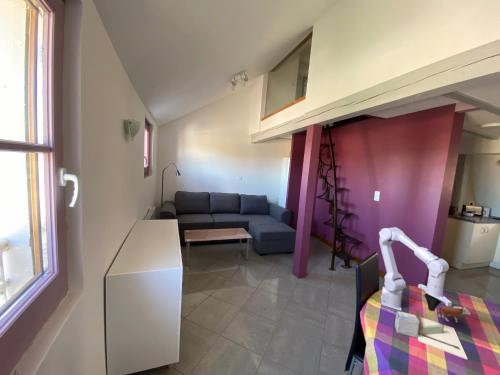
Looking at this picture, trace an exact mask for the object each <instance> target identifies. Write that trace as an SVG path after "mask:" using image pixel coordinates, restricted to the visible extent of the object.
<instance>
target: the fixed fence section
mask: <svg viewBox="0 0 500 375" xmlns="http://www.w3.org/2000/svg"><path fill="white" fill-rule="evenodd" d="M414 315H416V317H417V319H418V320H419V325H421V321H420V317H421V316H420V312H419V310H415V312H414Z"/></svg>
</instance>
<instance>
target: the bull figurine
mask: <svg viewBox="0 0 500 375" xmlns="http://www.w3.org/2000/svg"><path fill="white" fill-rule="evenodd" d="M437 314H438V315H437V317H439V318H440V319H441V318H442V319H445V321H446V322H450V320H449V319H448V317H453V319H454V321H455V322H456V323H457V324H458V323H459V322H458V320H459V318H460V317H461V316H463V315H468V316H471V312H470V311H469V309H467V307H465V306H462V307H461V306H446V305H440V306H438V312H437Z"/></svg>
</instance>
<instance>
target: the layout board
mask: <svg viewBox="0 0 500 375" xmlns="http://www.w3.org/2000/svg"><path fill="white" fill-rule="evenodd" d="M419 317H420V321H421V326H431V325H440V324H441V323H440V322H436V321H434V320H432V319H431V320H430V319H427V318H424V317H422V316H419ZM443 325H444V330H443V333H433V334H422V335H419V334H417V340H418V342H420V343H422V344H425V345H427V346H430V347H431V348H432V347H433V348H434V349H435V348H436V349H438V350H440V351H443V352H446V353H448V354H451V355H453V356H456V357H459V358H461V359H464V360H468V357H467V354H466V352H465V350H464V348H463V346H462V343H461V341H460V339H459V337H458V335H457V333H456V331H455V328H454V327H452V326H449V325H445V324H443Z"/></svg>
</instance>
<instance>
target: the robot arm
mask: <svg viewBox="0 0 500 375" xmlns="http://www.w3.org/2000/svg"><path fill="white" fill-rule="evenodd" d="M378 235H379V239H378V240H379V241H378V242H379V246H380V251H381V255H382V259H383V262H384V267H385V270H386V273H385V275H384V286H382V290H381V295H380V304H381V306H385V307H388V308H391V309H394V310H396V311H399V312H403V311H402V296H403V290H404V289H406V288H407V283H406V281H405V280H404V278H403V275H402V274H401V273H399V271H398V270H399V269H398V267H397V263H396V259H395V255H394V252H393V248H392V244H393V242H394V241H397V242H401V243H402V244H403V245H405V246H406V247H407V248H409V250H412V251H413V253H414V256H416V257H417V258H418V259H419V260H420V261H421V262H423V263H424V264H425V265H426V266H427V269H428V277H427V284H426V285H424V284H422V283H419V284H418V285H417V287H418V289H420V290H422V291H424V292H425V293H424V295H423V296H424V298H425V300H426V303H427V304H426V305H427V309H428V311H430V312H435V311H436V309H437V307H439V305H440V304H441V303H443V304H445V306H448V307H452V303H453V302H452V301H451V300H449V299H448V297H445V295H443V294H444V293H443V292H444V284H445V279H446V273H447V271H448V270H449V269H450V266H449V264H448V262H447V260H445V259H443V258H439V257H438V256H437V255H435V254H433V253H432V252H430V250H429V249H428V248H426V247H423V246H422V247H421V246H419V245H418V244H417V243H416V242H414V241H413V240H412V239H411V238H409V237H408V236H407V235H406V234H405V232H404V231H403V230H402V229H400V228H398V227H397V226H394V227H385V228H381V229H380V230H379V232H378Z"/></svg>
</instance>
